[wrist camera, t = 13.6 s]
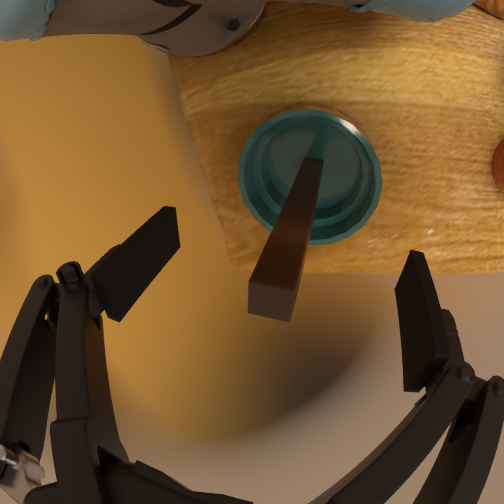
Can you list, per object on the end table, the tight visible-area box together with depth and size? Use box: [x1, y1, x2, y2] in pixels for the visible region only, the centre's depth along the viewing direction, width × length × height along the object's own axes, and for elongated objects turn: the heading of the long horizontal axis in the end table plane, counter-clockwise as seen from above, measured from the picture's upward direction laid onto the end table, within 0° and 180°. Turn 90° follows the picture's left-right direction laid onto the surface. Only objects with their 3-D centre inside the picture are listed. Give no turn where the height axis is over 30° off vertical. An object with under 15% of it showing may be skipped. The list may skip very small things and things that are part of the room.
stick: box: [248, 157, 324, 322], centre depth 20 cm, size 2×2×20 cm
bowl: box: [238, 104, 382, 245], centre depth 26 cm, size 13×13×6 cm
